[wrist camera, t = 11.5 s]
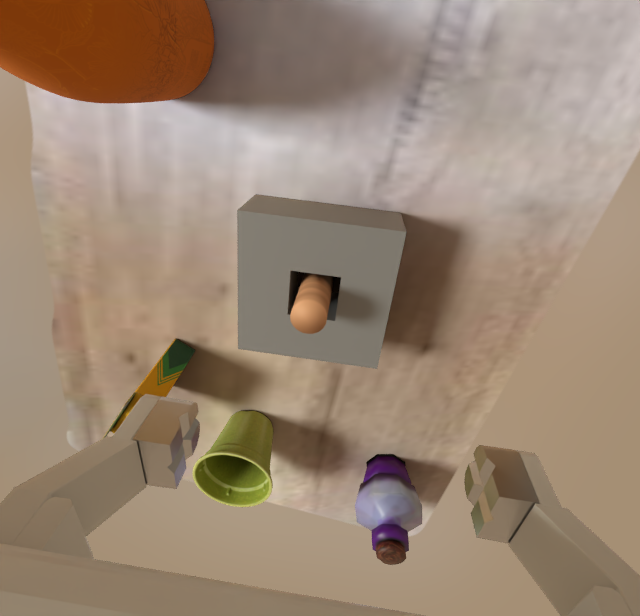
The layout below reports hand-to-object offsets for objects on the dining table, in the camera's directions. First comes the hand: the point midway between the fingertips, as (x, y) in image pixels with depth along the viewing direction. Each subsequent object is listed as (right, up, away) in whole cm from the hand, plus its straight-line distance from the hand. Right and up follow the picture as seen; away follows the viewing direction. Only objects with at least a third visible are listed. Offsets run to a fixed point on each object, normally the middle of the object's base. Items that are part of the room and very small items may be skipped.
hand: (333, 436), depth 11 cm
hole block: (0, +8, +29) cm, 30 cm away
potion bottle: (+9, -18, +42) cm, 47 cm away
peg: (0, +8, +29) cm, 30 cm away
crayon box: (-19, -3, +37) cm, 42 cm away
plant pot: (-10, -12, +41) cm, 44 cm away
